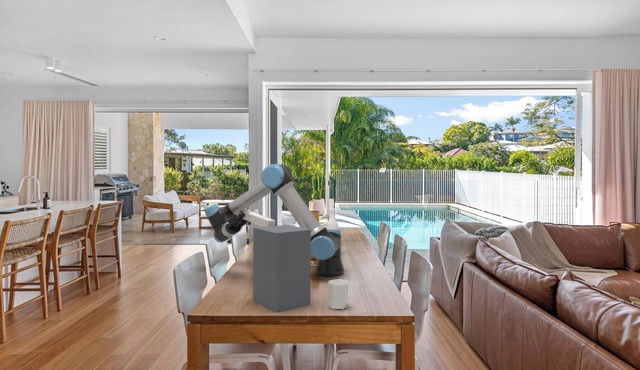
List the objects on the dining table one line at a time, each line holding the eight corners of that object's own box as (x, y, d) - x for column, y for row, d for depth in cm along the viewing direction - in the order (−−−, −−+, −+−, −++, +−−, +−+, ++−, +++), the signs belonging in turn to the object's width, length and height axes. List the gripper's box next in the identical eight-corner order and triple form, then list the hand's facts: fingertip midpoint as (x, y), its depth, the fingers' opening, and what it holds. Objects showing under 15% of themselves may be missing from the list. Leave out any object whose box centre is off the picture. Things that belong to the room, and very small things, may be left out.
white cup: (327, 304, 171) (327, 279, 171) (346, 303, 172) (346, 279, 171) (329, 310, 163) (329, 284, 163) (349, 310, 164) (349, 284, 164)
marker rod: (239, 217, 204) (239, 210, 203) (246, 217, 206) (246, 209, 205) (267, 229, 183) (268, 220, 183) (274, 228, 186) (275, 220, 185)
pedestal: (253, 300, 175) (253, 227, 174) (286, 293, 185) (286, 224, 184) (275, 312, 161) (276, 233, 160) (310, 304, 170) (310, 229, 169)
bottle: (340, 256, 266) (340, 208, 265) (329, 257, 262) (330, 208, 261) (333, 254, 273) (333, 207, 272) (322, 255, 269) (323, 207, 268)
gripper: (248, 233, 218) (270, 218, 201) (217, 235, 207) (238, 220, 190) (245, 219, 220) (267, 203, 203) (215, 221, 209) (235, 204, 193)
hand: (253, 211), depth 197 cm, fingers closed on marker rod, 4 cm apart
